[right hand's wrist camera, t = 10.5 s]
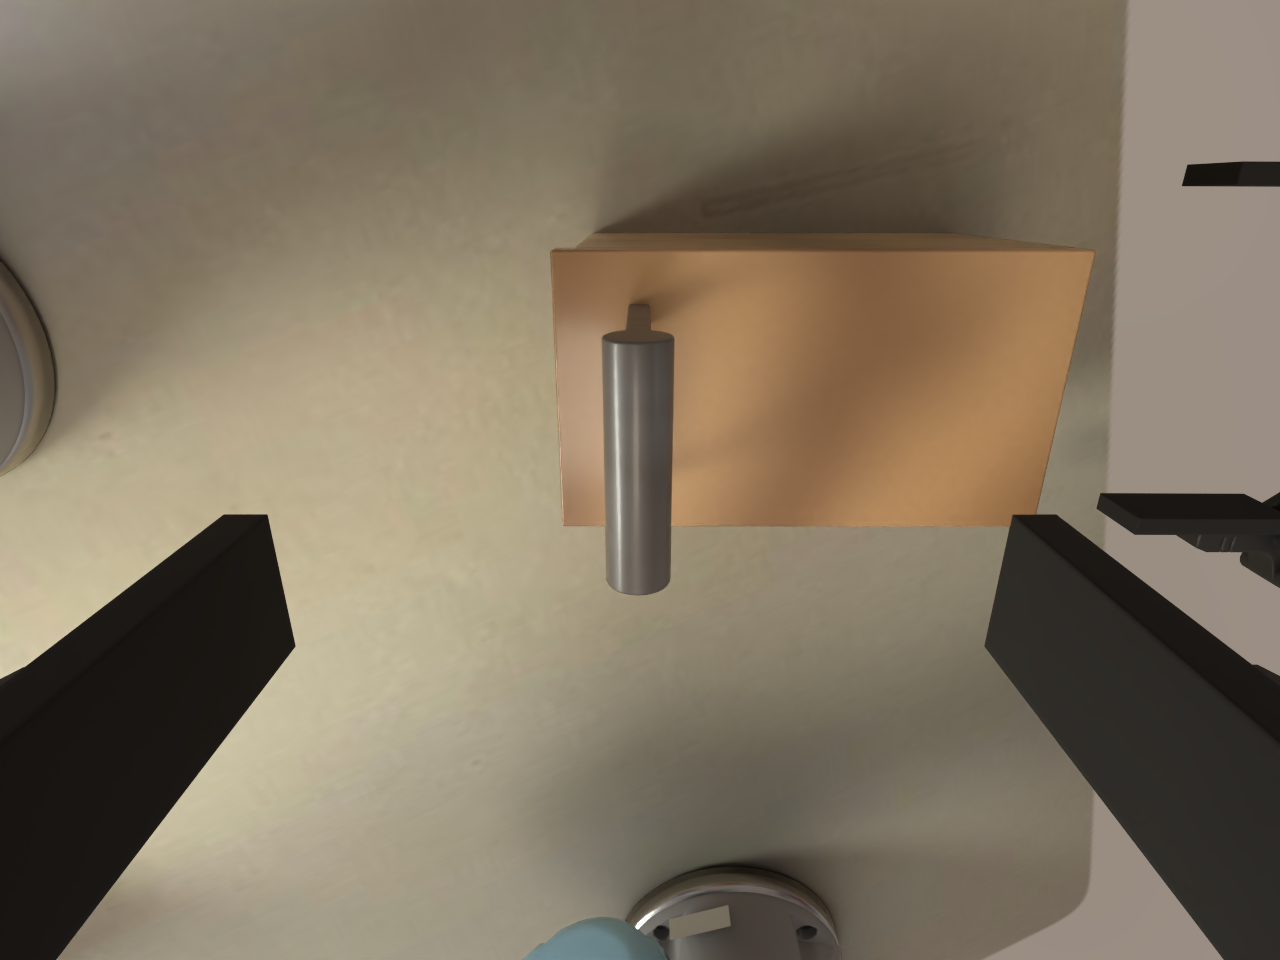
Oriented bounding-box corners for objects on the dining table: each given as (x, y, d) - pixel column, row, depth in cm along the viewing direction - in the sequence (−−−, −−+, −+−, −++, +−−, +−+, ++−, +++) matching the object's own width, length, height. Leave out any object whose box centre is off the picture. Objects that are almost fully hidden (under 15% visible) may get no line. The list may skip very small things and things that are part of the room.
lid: (565, 514, 27) (534, 644, 19) (553, 247, 24) (509, 273, 16) (1019, 514, 27) (1174, 645, 19) (1077, 248, 24) (1296, 274, 16)
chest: (597, 432, 37) (582, 514, 27) (592, 232, 33) (573, 247, 24) (922, 432, 37) (1018, 514, 27) (953, 233, 33) (1076, 247, 24)
